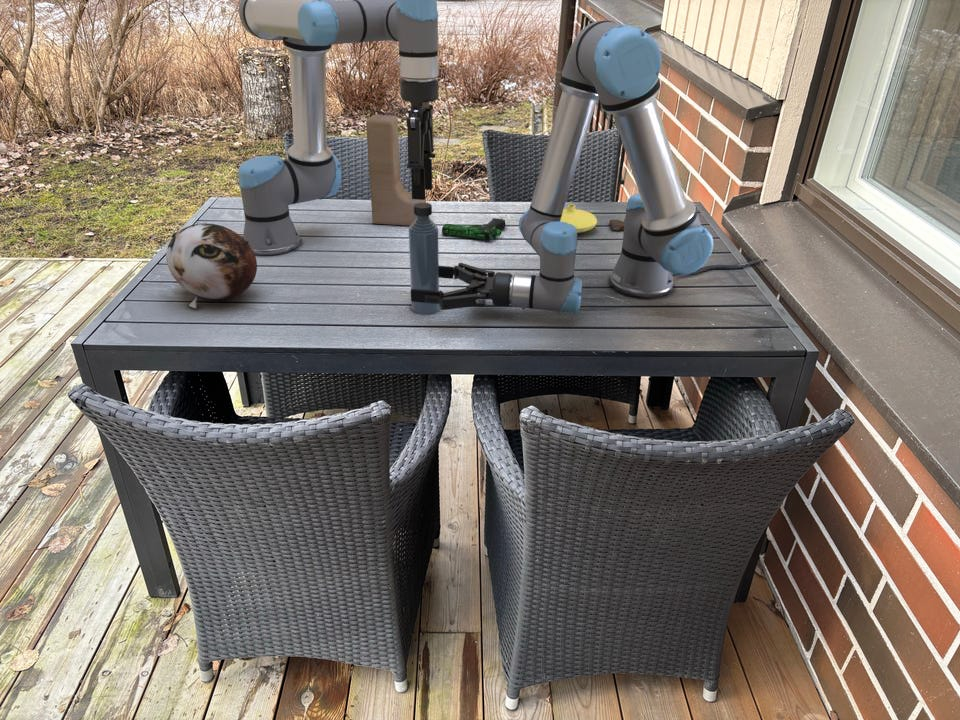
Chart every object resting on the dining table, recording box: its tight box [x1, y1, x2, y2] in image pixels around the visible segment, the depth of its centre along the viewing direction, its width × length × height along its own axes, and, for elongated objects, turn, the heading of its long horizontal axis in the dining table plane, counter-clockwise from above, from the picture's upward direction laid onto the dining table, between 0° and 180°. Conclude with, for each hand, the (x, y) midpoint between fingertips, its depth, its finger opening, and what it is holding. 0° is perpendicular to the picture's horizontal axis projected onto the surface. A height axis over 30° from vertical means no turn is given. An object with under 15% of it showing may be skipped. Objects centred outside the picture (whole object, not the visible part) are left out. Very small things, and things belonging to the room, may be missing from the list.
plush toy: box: [165, 222, 258, 309], centre depth 165 cm, size 22×18×20 cm
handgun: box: [441, 217, 506, 242], centre depth 207 cm, size 16×3×15 cm
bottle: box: [408, 215, 441, 315], centre depth 159 cm, size 6×6×24 cm
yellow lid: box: [560, 203, 598, 234], centre depth 209 cm, size 16×16×7 cm
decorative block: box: [365, 114, 427, 227], centre depth 207 cm, size 8×15×30 cm, turn 82°
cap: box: [414, 202, 433, 217], centre depth 153 cm, size 4×4×2 cm
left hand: (422, 193), depth 152 cm, fingers open, 6 cm apart
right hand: (418, 282), depth 162 cm, fingers open, 13 cm apart
